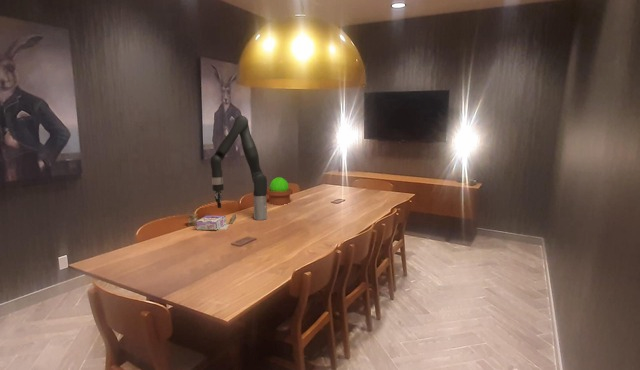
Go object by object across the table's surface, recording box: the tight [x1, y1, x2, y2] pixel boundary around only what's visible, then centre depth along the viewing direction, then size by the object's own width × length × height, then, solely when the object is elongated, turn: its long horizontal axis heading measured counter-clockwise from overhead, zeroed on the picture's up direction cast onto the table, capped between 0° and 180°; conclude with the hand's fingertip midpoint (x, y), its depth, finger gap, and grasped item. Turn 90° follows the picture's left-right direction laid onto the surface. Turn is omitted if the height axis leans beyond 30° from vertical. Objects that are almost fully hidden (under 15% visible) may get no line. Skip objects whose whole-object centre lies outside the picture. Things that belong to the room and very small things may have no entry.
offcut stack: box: [187, 213, 199, 227], centre depth 244 cm, size 5×8×7 cm, turn 4°
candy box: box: [196, 214, 227, 231], centre depth 236 cm, size 14×6×16 cm
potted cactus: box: [266, 176, 293, 206], centre depth 311 cm, size 22×22×25 cm
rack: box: [203, 213, 237, 225], centre depth 254 cm, size 21×17×4 cm
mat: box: [197, 224, 230, 231], centre depth 236 cm, size 18×12×1 cm, turn 94°
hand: (219, 207), depth 253 cm, fingers closed
